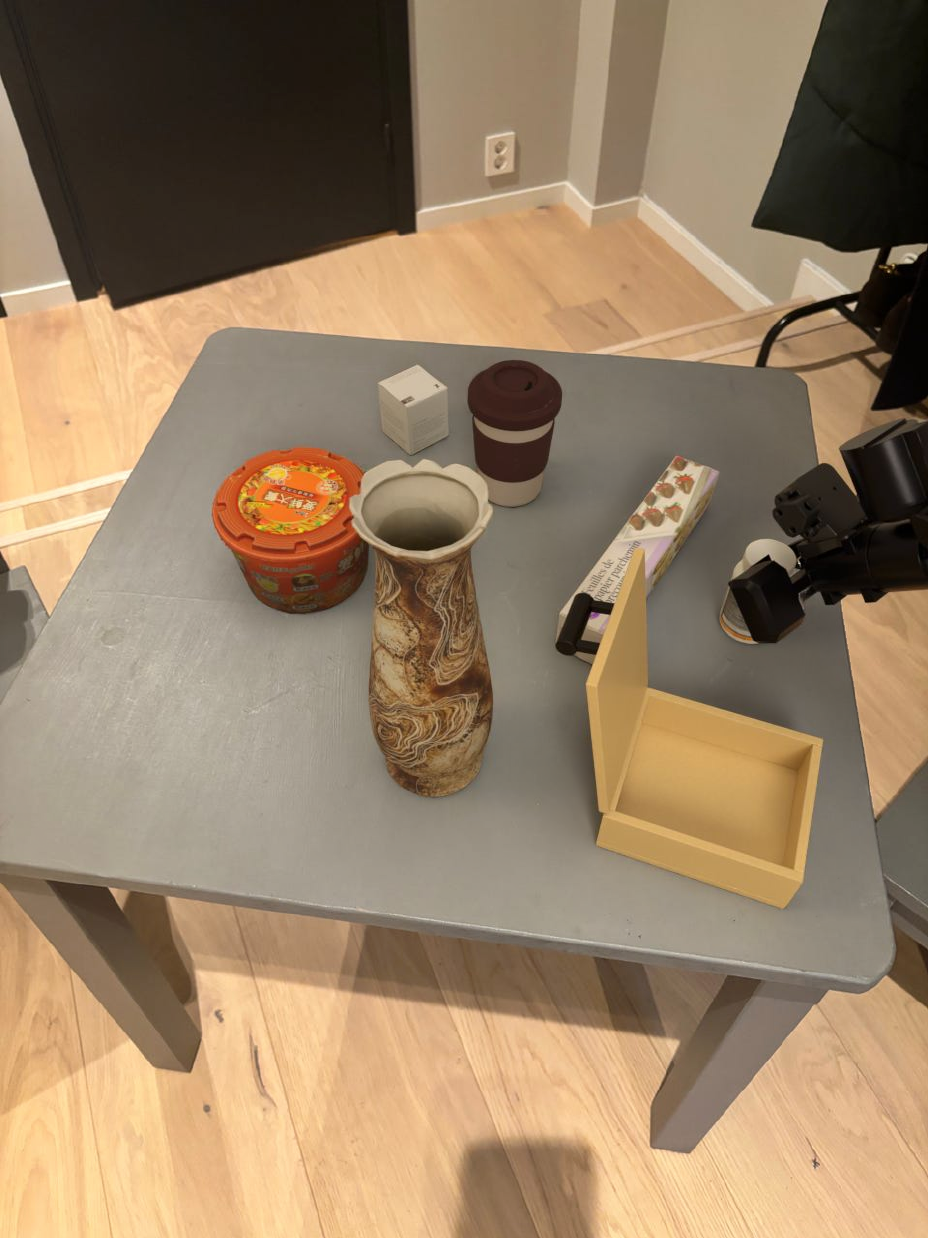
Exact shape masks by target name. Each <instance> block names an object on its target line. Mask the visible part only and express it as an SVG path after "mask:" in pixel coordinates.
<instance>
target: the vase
mask: <svg viewBox="0 0 928 1238" xmlns="http://www.w3.org/2000/svg"><path fill="white" fill-rule="evenodd" d="M364 473H365V474H364V475H363V477H362V479H361V487H360V494H359V495H354V496H352V497H350V498H349V509H350V511H351V513H352V515H353V517H354V518H353V519H352V521H351V525H352V527H353V528H354V530H355V531H356V533H357V534H358V535H359V536H360V537H361V538H362V539H363V540H365V541H366V542H367V543H368V544H369V546H371V547H372V549H374V557H375V580H374V581H375V583H374V607H373V619H372V620H373V621H372V633H371V652H370V663H369V678H368V709H369V719H370V724H371V729H372V734H373V737H374V739H375V742H376V744H377V746H378V748H379V750H380V752H381V753H382V755H383V756H384V759H385V766H386V769H387V771H388V774H389V775H390V777H391V778H392V780H393V781H394V782H395V783H396V784H397V785H398V786H400V787H401V788H403V789H404V790H406V791H408V792H411V793H414V794H416V795H419V796H424V797H430V798H431V797H443V796H444V797H445V796H449V795H452V794H454V793H456V792H459V791H461V790H462V789H464V788H465V787H467V786H468V785H469V784H470V783H472V781H473V780H474V779H475V778H476V777H477V775H478V773H479V772H480V769H481V766H482V763H483V758H484V750H485V747H486V746H487V743H488V740H489V737H490V734H491V729H492V724H493V714H494V713H493V712H494V690H493V682H492V675H491V670H490V664H489V658H488V653H487V647H486V643H485V638H484V632H483V625H482V620H481V616H480V610H479V604H478V598H477V592H476V585H475V579H474V573H473V565H472V548H473V546H474V545H475V544H476V543H477V541H478V540H479V539H480V538H481V537H482V535H483V534H484V533H485V531H487V527H488V526H489V524H490V521H491V519H492V518H493V515H494V505H493V504H492V503H491V504H490V503H489V502H490V501H489V500H488V498H489V494H490V492H489V487H488V484H487V483H486V481H485V480H484V479H483V478H482V476H481V475H480V474H478V471H475V470H474V469H473V468H471V467H469V466H466V465H463V464H460V463H451V464H449V465H447V466H445V467H443V466H441V465H440V464H439V463H438V462H436V461H435V460H432V459H426V458H422V459H421V460H420V461H419V462H418V463H416V464H415V465H414V466H412V465H410V464H408V463H407V462H406V461H404V460H402V459H393V460H387V461H384V462H382V463H380V464H378V465H376V466H375V465H374V467H371V468H370V469H368V470H367V471H366V472H364Z"/></svg>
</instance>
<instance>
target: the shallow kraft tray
mask: <svg viewBox="0 0 928 1238" xmlns="http://www.w3.org/2000/svg"><path fill="white" fill-rule="evenodd" d="M823 744H824V739H823V738H822V737H817V736H814V735H811V734H807V733H804V732H801V731H797V730H794V729H790V728H787V727H783V726H780V725H777V724H774V723H771V722H767V721H763V720H759V719H756V718H752V717H750V716H746V715H743V714H740V713H737V712H733V711H730V710H726V709H722V708H719V707H716V706H712V705H709V704H705V703H702V702H699V701H695V700H692V699H689V698H686V697H682V696H678V695H676V694H672V693H668V692H665V691H662V690H658V689H655V688H653V687H648V686H647V689H646V692H645V695H644V698H643V702H642V705H641V708H640V712H639V715H638V718H637V721H636V725H635V728H634V731H633V735H632V738H631V741H630V744H629V748H628V751H627V754H626V758H625V761H624V764H623V767H622V771H621V774H620V777H619V781H618V784H617V787H616V790H615V794H614V797H613V800H612V804H611V807H610V810H609V813H608V814H607V813H602V818H601V822H600V826H599V829H598V834H597V837H596V841H595V846H597V847H599V848H602V849H605V850H607V851H611V852H614V853H617V854H620V855H623V856H626V857H628V858H631V859H634V860H638V861H640V862H643V863H646V864H649V865H651V866H655V867H658V868H661V869H664V870H667V871H669V872H673V873H676V874H679V875H681V876H684V877H688V878H690V879H693V880H696V881H699V882H702V883H705V884H708V885H711V886H713V887H716V888H718V889H719V888H720V889H723V890H726V891H729V892H731V893H734V894H737V895H740V896H743V897H746V898H749V899H751V900H755V901H757V902H760V903H763V904H766V905H769V906H772V907H776V908H777V909H782V910H785V908H786V907H787V906H788V904H789V903H790V901H791V900H792V899H793V897H794V896H795V894H796V893H797V892H798V890H799V889H800V887H801V886H802V884H803V883H804V877H805V870H806V863H807V857H808V848H809V841H810V835H811V828H812V821H813V815H814V808H815V807H814V806H815V799H816V795H817V794H816V793H817V786H818V779H819V772H820V765H821V760H822V759H821V758H822V752H823V751H822V750H823V746H824V745H823Z"/></svg>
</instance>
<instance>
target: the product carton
mask: <svg viewBox="0 0 928 1238" xmlns="http://www.w3.org/2000/svg"><path fill="white" fill-rule="evenodd" d="M377 390H378V399H379V409H380V418H381V419H380V420H381V430H382V432H383V433H384V434H385V435H386V436H387V437H388V438H390V439H391V440H392V441H393V442H394V443H395V444H397V445H398V446H399V447H400V448H401V449H402V450H403V451H405V453H407V454H408V455H409V456H412V455H415V454H416V453H419V452H420V451H422V450H424V449H426V448H428V447H430V446H431V445H433V444H435V443H438V442H440V441H441V440H443V439H445V438H447V437H449V436H450V430H449V427H450V426H449V388H448V386H447V385H445V384H443V383H442V382H441V381H439V380H438V379H437V378H436V377H434V376H433V375H431V374H430V373H429V372H428V371H427V370H426V369H424V368H423V367H422V366H420V365H419V364H416V365H414V366H412V367H410V368H407V369H405V370H402V371H401V372H399V373H396V374H394V375H391V376H390V377H388V378H385V379H383V380H381V381H379V382H377Z"/></svg>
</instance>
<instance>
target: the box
mask: <svg viewBox="0 0 928 1238" xmlns="http://www.w3.org/2000/svg"><path fill="white" fill-rule="evenodd" d="M719 475H720V471H719V470H716V469H713V468H712V467H710V466H707V465H703V464H700V463H698V462H696V461H692V460H691V459H687V458H686V457H682V456H679V455H675V457H674V458H673V459H672V460H671V462H670V463H669V465H668V466H667V468H666V469H665V470H664V472H663V473H662V474H661V476H660V477H659V478H658V480H657V481H656V482H655V484H654V485H653V486H652V488H651V489H650V491H649V492H648V494H647V495H646V496H645V498H644V499H643V500H642V501H641V502H640V504H639V505H638V507H637V508H636V509H635V511H634V512H633V513H632V515H631V516H630V517H629V519H628V520H627V522H626V523H625V524H624V525H623V527H622V528H621V530H620V531H619V532H618V534H617V535H616V536H615V538H614V539H613V540H612V542H611V543H610V545H608V547H607V548H606V550H605V551H604V553H603V554H602V555H601V557H600V558H599V559H598V561H597V562H596V563H595V565H594V566H593V567H592V569H591V570H590V572H589V573H588V574H587V576H586V577H584V580H583V581H582V582H581V584H580V585H579V586H578V588H577V589H576V590H575V592H574V593H573V594H572V596H571V597H570V598H569V600H568V601H567V602H566V604H565V605H564V607H562V609H561V610H560V611H559V615H558V620H557V621H558V622H557V628H556V636H555V642H554V646H555V645H556V642H557V639H558V637H559V634H560V632H561V629H562V627H563V624H564V622H565V619H566V617H567V614H568V612H569V609H570V607H571V604H572V602H573V599H574V597H575V595H576V594H578V593H586V594H589V595H590V596H592V597H593V599H594V600H597V601H604V602H610V603H615V601H616V598H617V596H618V593H619V590H620V587H621V584H622V582H623V579H624V576H625V573H626V570H627V568H628V565H629V562H630V559H631V557H632V554H633V551H634V548H643V549H645V577H646V599H647V598H648V597H649V596H650V594H651V593H652V591H653V590H654V589H655V587H656V585H657V584H658V583H659V581H660V580H661V578H662V576H663V575H664V574H665V572H666V571H667V569H668V567H669V566H670V564H671V563H672V561H673V560H674V558H675V557H676V555H677V554H678V552H679V551H680V549H681V548H682V546H683V545H684V543H685V542H686V541H687V539H688V537H689V536H690V534H691V533H692V532H693V530H694V528H695V527H696V526H697V524H698V522H699V521H700V520H701V518H702V516H703V515H704V513H705V512H706V511H707V509H708V507H709V505H710V503H711V500H712V496H713V494H714V490H715V488H716V484H717V483H718V479H719ZM609 618H610V615H606V614H600V613H593V612H591V615H590V618H589V620H588V623H587V626H586V628H585V631H584V634H583V636H582V639H581V640H586V641H592V642H598V643H601V640H602V637H603V635H604V632H605V629H606V626H607V623H608V621H609ZM573 656H575V657H577V658H578V659H580V660H582V661H584V662H586V663H588V664H591V665H593V662H594V660H595V657H596V655H592V654H587V653H581V652H576V653H575V654H574V655H573Z"/></svg>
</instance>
